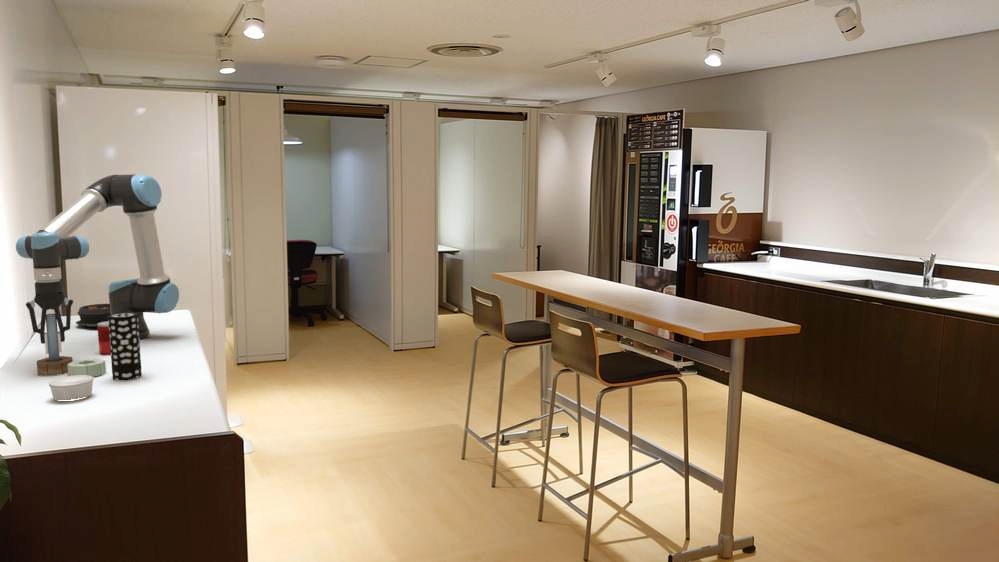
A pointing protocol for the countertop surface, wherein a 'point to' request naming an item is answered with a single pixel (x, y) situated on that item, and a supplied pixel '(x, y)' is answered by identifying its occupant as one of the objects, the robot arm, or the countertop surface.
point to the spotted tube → (124, 346)
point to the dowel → (52, 337)
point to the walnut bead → (53, 366)
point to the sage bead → (87, 367)
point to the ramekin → (71, 387)
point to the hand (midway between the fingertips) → (53, 352)
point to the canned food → (104, 338)
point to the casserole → (93, 314)
